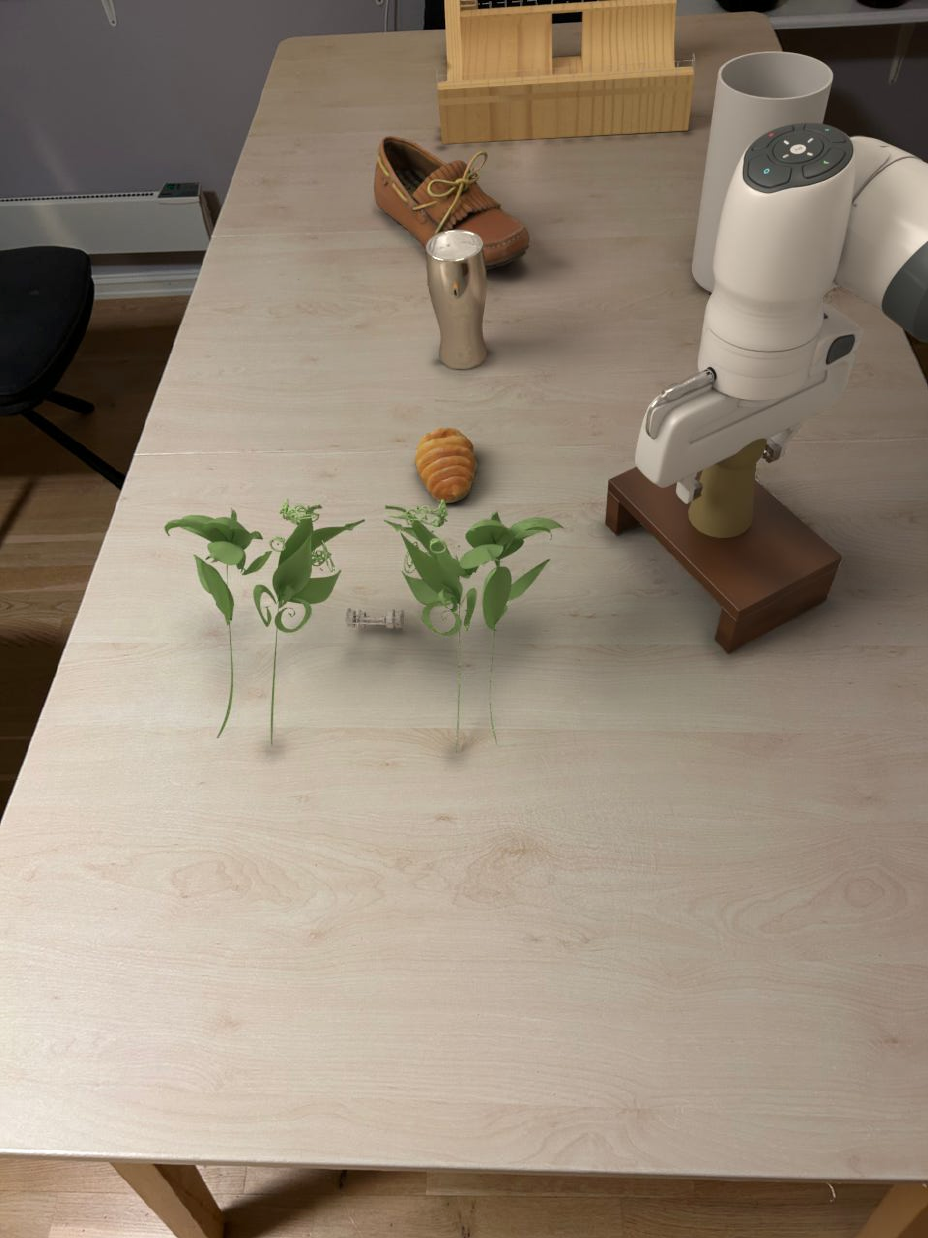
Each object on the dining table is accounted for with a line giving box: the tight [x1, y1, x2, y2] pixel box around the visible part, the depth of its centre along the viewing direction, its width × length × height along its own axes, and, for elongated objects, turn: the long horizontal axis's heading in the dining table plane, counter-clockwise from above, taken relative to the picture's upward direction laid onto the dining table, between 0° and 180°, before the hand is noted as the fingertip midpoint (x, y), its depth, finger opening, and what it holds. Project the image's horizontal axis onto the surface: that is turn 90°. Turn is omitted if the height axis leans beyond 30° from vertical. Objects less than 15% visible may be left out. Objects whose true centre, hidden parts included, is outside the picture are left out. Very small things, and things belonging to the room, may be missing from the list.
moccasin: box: [373, 135, 531, 270], centre depth 130 cm, size 31×12×12 cm, turn 26°
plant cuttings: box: [164, 498, 564, 753], centre depth 84 cm, size 35×17×22 cm
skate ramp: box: [435, 0, 696, 145], centre depth 157 cm, size 40×35×16 cm
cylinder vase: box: [691, 51, 834, 294], centre depth 115 cm, size 12×12×25 cm
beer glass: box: [425, 230, 488, 370], centre depth 112 cm, size 7×7×15 cm
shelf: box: [604, 466, 844, 655], centre depth 92 cm, size 12×20×6 cm, turn 29°
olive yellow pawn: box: [688, 438, 767, 538], centre depth 85 cm, size 6×6×11 cm
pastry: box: [414, 427, 478, 504], centre depth 103 cm, size 9×7×4 cm
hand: (729, 476), depth 85 cm, fingers open, 8 cm apart
